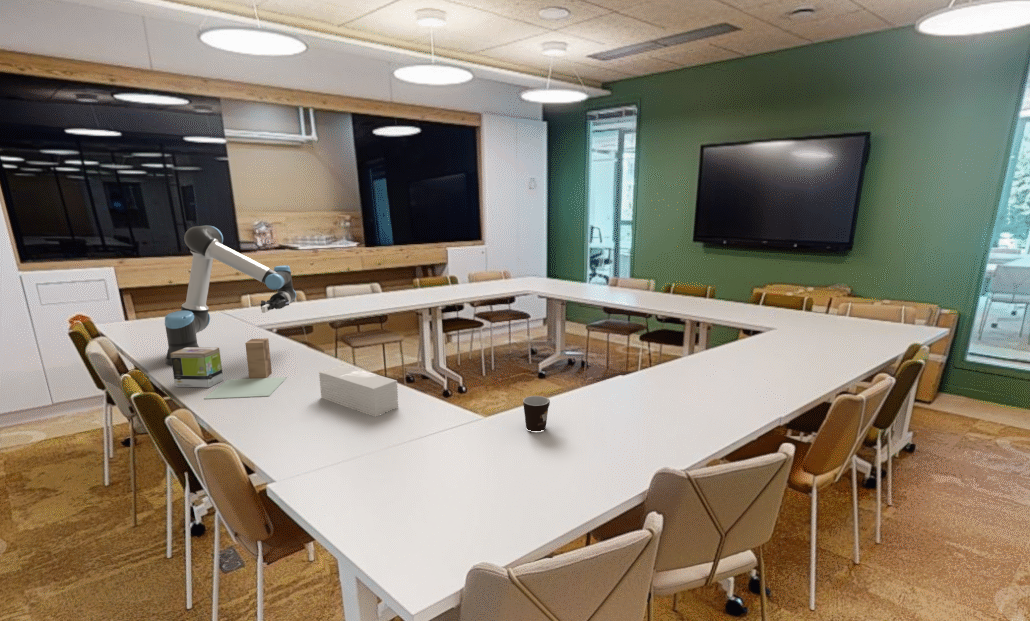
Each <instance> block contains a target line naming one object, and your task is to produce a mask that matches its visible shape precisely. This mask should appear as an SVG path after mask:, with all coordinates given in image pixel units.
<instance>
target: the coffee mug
mask: <svg viewBox="0 0 1030 621" xmlns="http://www.w3.org/2000/svg"><path fill="white" fill-rule="evenodd" d="M522 404H523V413H524V420H525V429H526V428H527V429H528V430H531V431H541V430H544V429H545V428H546V429H547V420H548V412H549V407H550V404H551V402H550V399H549V398H548V397H546V396H542V395H541V396H540V395H529V396H527V397H524V398H523V400H522ZM546 429H545V430H546Z"/></svg>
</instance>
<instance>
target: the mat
mask: <svg viewBox="0 0 1030 621" xmlns="http://www.w3.org/2000/svg"><path fill="white" fill-rule="evenodd" d="M287 378H288V377H286V376H285V377H284V376H283V377H282V376H281V377H267V378H255V379H249V378H236V379H235V378H233V379H226V380H225V381H224V382H223V383H222V384H220V385H219V386H218V387H216V389H214V390H213V391H211V392H210V393H209V394H208V395H206V396H205V397H204V398H203V399H204V400H212V399H213V400H214V399H215V400H217V399H237V398H238V399H239V398H262V397H270V396H272V394H274V392H275V391H276V390H277V389H278V388H279V386H281V385H282V384H283V383H284V382H285V380H286V379H287Z"/></svg>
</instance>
